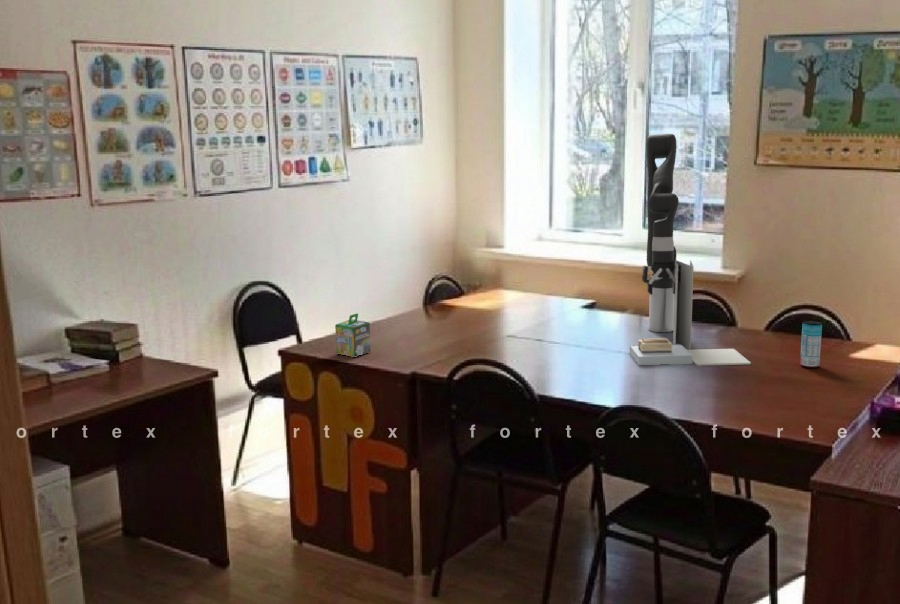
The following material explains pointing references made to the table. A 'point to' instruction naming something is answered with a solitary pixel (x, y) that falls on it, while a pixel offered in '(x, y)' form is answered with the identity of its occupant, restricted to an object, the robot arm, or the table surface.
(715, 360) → the mat
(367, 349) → the chalk box
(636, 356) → the large white box
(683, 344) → the grey panel
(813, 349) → the beverage can
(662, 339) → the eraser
